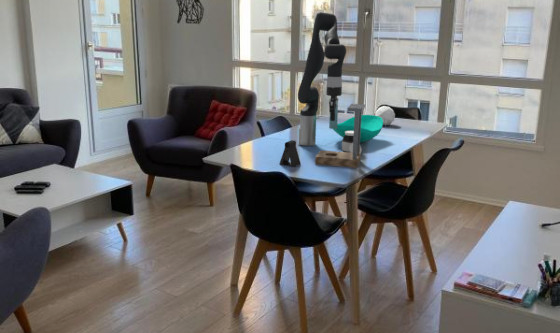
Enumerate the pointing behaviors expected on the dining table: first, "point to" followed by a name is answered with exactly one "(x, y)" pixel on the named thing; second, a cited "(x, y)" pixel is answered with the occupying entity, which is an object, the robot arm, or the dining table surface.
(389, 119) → the geodesic sphere
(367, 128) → the table top decor
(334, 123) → the peg
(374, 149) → the dining table surface
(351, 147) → the spread jar
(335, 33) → the robot arm
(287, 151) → the phone stand
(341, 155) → the sheltered socket
